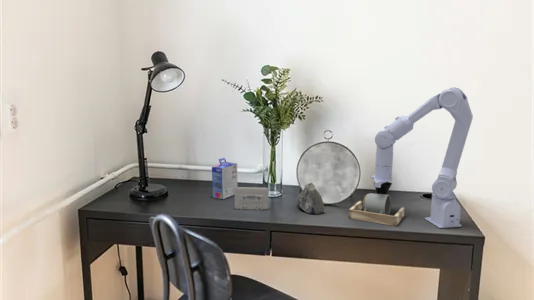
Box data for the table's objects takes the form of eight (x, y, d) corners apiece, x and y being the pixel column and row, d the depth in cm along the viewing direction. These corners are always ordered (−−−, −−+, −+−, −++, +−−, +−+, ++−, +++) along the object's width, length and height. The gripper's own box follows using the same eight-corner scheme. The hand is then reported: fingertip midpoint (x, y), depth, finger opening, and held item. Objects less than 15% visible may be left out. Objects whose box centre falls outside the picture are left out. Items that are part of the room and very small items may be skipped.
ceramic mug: (368, 209, 177) (369, 189, 175) (391, 213, 173) (392, 192, 171) (358, 219, 168) (359, 197, 166) (382, 223, 164) (383, 200, 162)
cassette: (268, 208, 178) (268, 187, 177) (268, 209, 176) (268, 188, 175) (234, 207, 178) (234, 186, 177) (234, 209, 176) (234, 188, 175)
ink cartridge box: (227, 191, 199) (226, 155, 196) (238, 193, 196) (238, 157, 193) (211, 197, 190) (211, 160, 188) (222, 199, 187) (222, 162, 185)
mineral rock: (297, 202, 185) (298, 176, 183) (326, 204, 183) (327, 178, 181) (292, 213, 173) (293, 185, 171) (323, 215, 170) (324, 187, 169)
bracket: (359, 208, 178) (359, 200, 178) (404, 215, 171) (404, 207, 171) (348, 218, 168) (348, 209, 167) (396, 226, 161) (396, 217, 160)
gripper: (378, 159, 180) (376, 195, 182) (366, 167, 167) (364, 206, 170) (397, 161, 176) (395, 198, 179) (387, 170, 164) (384, 209, 166)
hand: (381, 202), depth 174 cm, fingers closed, pressing on ceramic mug
